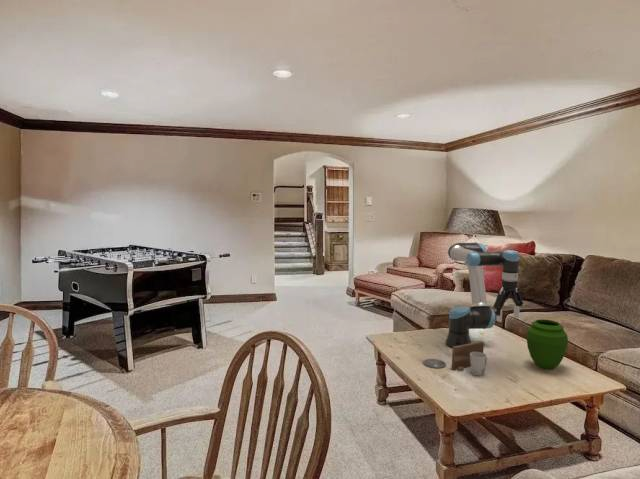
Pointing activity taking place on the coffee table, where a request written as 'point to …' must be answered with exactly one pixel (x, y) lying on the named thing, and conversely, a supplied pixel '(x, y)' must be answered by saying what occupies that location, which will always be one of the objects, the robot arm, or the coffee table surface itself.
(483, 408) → the coffee table surface
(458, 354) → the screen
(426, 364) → the coaster
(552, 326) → the vase
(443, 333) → the coffee table surface
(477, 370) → the cup
